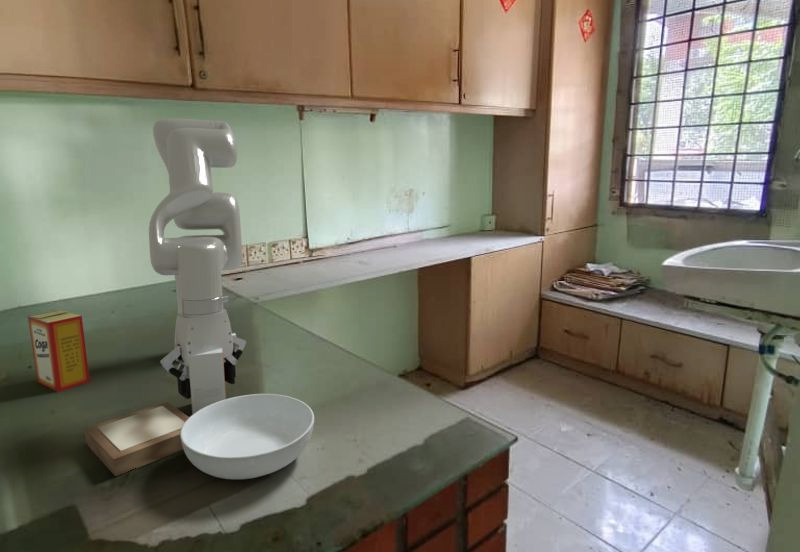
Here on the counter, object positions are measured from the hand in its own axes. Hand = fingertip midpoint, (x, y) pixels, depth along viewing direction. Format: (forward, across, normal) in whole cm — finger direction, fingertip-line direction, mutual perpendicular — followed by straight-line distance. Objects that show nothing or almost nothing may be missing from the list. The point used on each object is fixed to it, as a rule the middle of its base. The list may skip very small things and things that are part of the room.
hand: (208, 389), depth 96 cm
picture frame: (+4, +14, +4) cm, 15 cm away
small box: (+5, 0, 0) cm, 5 cm away
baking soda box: (+4, +16, -37) cm, 41 cm away
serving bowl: (+5, +4, +22) cm, 23 cm away
